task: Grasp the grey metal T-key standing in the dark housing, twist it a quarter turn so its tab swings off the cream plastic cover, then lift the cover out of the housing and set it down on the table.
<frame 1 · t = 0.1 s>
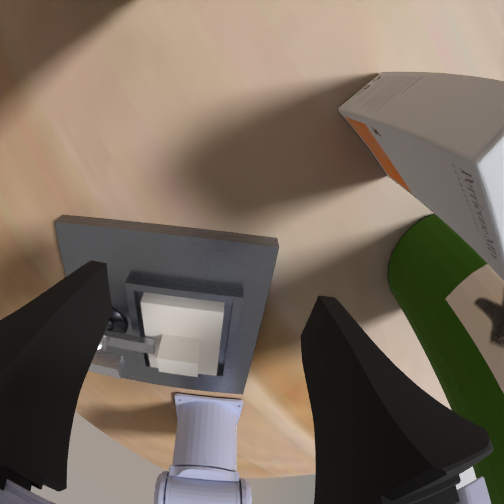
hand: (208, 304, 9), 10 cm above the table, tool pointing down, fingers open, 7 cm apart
housing: (163, 319, 24), on the table
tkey: (109, 347, 20), point 4 cm above the table, hinge at 0.0°
cover: (184, 333, 23), point 1 cm above the table, touching housing
wine bottle: (429, 257, 21), on the table
skincare box: (384, 126, 16), on the table
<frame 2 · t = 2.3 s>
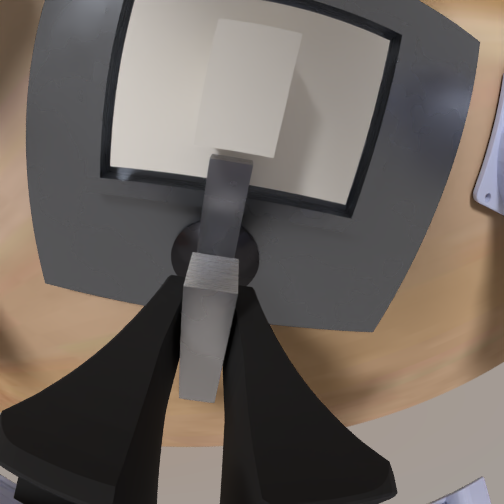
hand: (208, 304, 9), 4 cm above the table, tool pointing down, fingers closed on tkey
housing: (235, 138, 10), on the table
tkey: (211, 279, 9), point 4 cm above the table, hinge at 0.0°, touching gripper
cover: (245, 88, 8), point 1 cm above the table, touching housing
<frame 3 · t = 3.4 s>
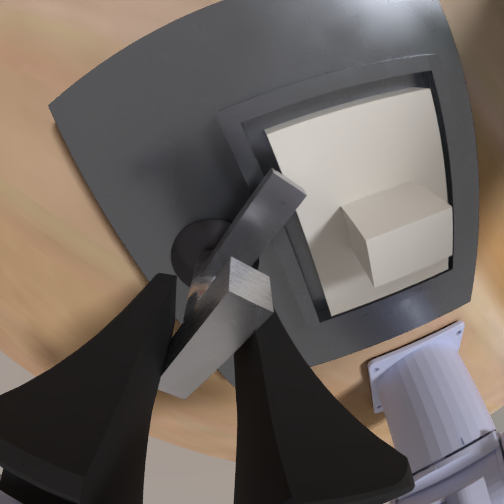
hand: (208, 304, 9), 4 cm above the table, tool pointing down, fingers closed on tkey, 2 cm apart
housing: (318, 206, 12), on the table
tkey: (224, 282, 9), point 4 cm above the table, hinge at 34.4°, touching gripper
cover: (371, 201, 11), point 1 cm above the table, touching housing
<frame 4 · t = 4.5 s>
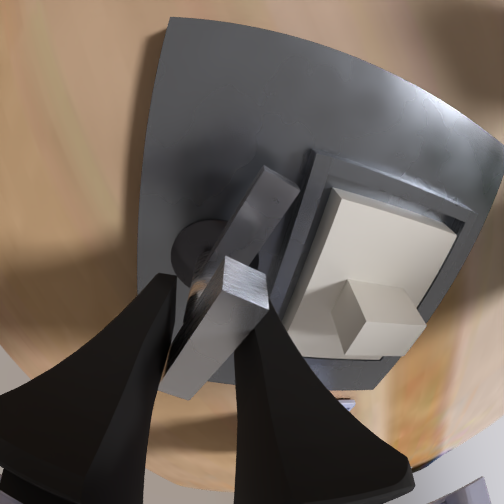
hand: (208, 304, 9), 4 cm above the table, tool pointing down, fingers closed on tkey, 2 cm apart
housing: (316, 262, 14), on the table
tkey: (222, 282, 9), point 4 cm above the table, hinge at 72.5°, touching gripper
cover: (360, 283, 13), point 1 cm above the table, touching housing
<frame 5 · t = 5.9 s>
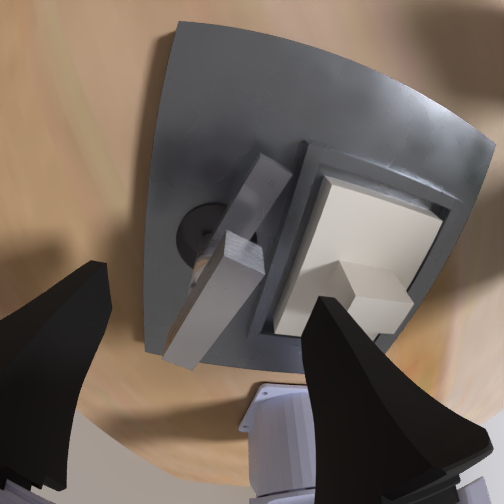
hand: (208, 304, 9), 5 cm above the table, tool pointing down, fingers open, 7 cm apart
housing: (310, 246, 15), on the table
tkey: (223, 258, 10), point 4 cm above the table, hinge at 73.1°
cover: (352, 266, 14), point 1 cm above the table, touching housing
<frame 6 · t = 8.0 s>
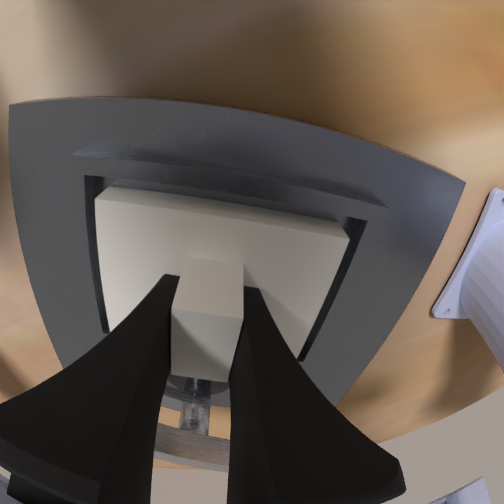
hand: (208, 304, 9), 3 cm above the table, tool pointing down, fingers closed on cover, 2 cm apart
housing: (209, 295, 13), on the table
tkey: (173, 415, 12), point 4 cm above the table, hinge at 73.1°
cover: (212, 275, 11), point 1 cm above the table, touching gripper, housing
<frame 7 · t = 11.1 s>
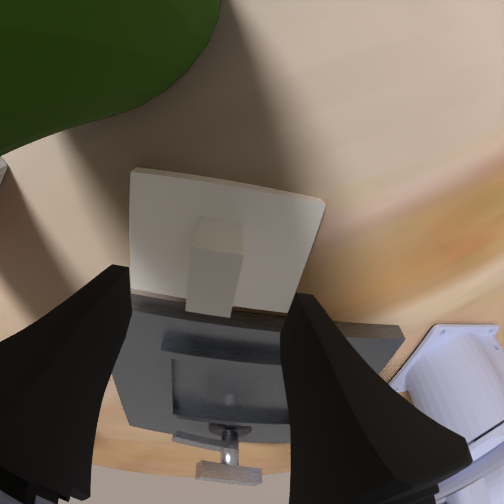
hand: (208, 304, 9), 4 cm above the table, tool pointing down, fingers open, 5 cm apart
housing: (239, 390, 19), on the table
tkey: (217, 455, 18), point 4 cm above the table, hinge at 73.1°
cover: (219, 237, 14), on the table
wine bottle: (114, 18, 8), on the table
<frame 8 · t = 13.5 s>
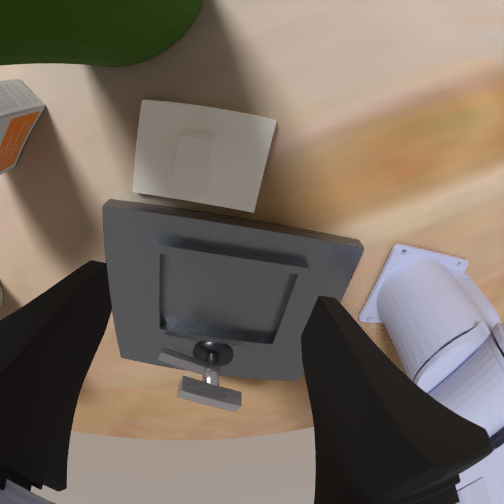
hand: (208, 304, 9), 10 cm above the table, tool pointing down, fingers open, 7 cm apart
housing: (220, 307, 23), on the table
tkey: (199, 375, 22), point 4 cm above the table, hinge at 73.1°
cover: (201, 151, 17), on the table
wine bottle: (134, 5, 11), on the table
skincare box: (18, 122, 14), on the table
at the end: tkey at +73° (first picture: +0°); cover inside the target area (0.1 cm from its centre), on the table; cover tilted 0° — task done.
